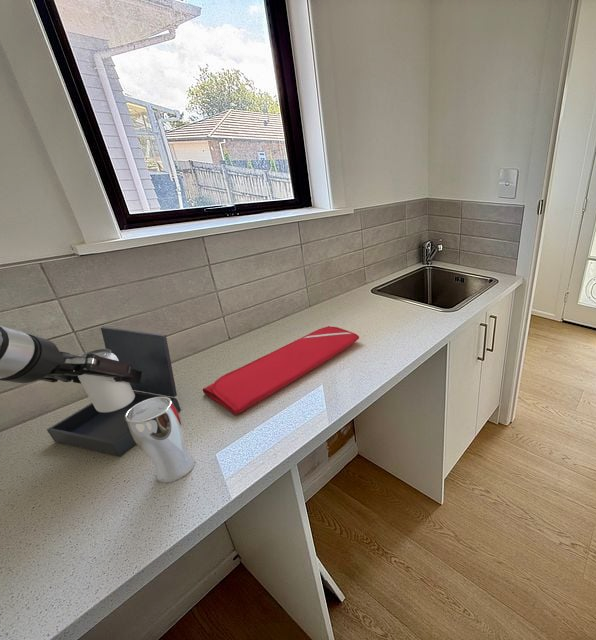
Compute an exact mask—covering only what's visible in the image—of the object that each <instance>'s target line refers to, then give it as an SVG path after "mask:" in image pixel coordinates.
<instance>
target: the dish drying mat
mask: <svg viewBox="0 0 596 640" xmlns="http://www.w3.org/2000/svg"><path fill="white" fill-rule="evenodd" d="M359 339H360V335H359V334H357V333H355V332H352V331H350V330H346V329H344V328H342V327H338V326H330V325H328V326H325V327H324V326H323V327H321V328H318V329H316V330H314V331H311V332H310V333H308V334H306V335H304V336H301V337H300V338H298V339H296V340H293V341H292V342H290V343H288V344H286V345H284V346H282V347H279V348H278V349H275V350H274V351H271V352H270V353H267V354H265V355H263V356H261V357H259V358H257V359H255V360H253V361H251V362H249V363H246V364H245V365H243V366H241V367H239V368H236V369H234V370H231V371H229V372H227V373H225V374H224V375H221V376H220V377H219V378H217V379H216V380H215V381H214V382H213V383H211V384H209V385H208V386H206V387H203V388H202V392H203V394H204V395H205V396H207V397H208V398H210V399H211V400H213V401H215V403H218V404H219V405H220V406H221V407H223V408H224V409H226V410H227V411H228V412H230V413H231V414H232V415H234V416H237V415H238V414H240V413H242V412H244V411H245V410H247V409H250V407H253V406H254V405H256V404H258V403H259V402H261V401H262V400H265V399H266V398H268V397H269V396H271V395H273V394H274V393H277V392H278V391H279V390H281V389H283V388H284V387H286V386H288V385H290V384H291V383H293V382H294V381H296V380H298V379H300V378H301V377H303V376H305V375H306V374H308V373H309V372H310V371H313V369H315V368H317V367H319V366H320V365H322V364H324V363H325V362H327V361H329V360H330V359H332V358H333V357H336V355H338V354H339V353H341V352H342V351H344V350H346V349H348V347H351V345H353V344H354V343H356V342H357V341H358V340H359Z"/></svg>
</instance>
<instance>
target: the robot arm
mask: <svg viewBox="0 0 596 640" xmlns="http://www.w3.org/2000/svg"><path fill="white" fill-rule="evenodd" d="M131 368H132V364H129V363H124V362H120V361H116V360H112V359H108V358H103V357H100V356H98V355H95V354H87V356H86V357H83V356H79V355H77V354H71V353H70V352H67V351H60V350H59V348H58V346H57V344H56V343H55V342H54V341H52V340H49V339H47V338H44V337H40V336H38V335H37V336H36V335H34V334H30V333H25V332H24V331H21V330H18V329H14V328H10V327H8V326H4V325H0V381H3V382H9V383H17V384H29V383H33V382H36V381H43V382H49V383H58V382H59V381H60V382H63V383H70V382H72V383H74V384H81V382H80V380H79V378H78V376H79V375H83V374H86V375H95V376H103V377H112V378H114V380H115V382H121V381H124V382H129V383H133V384H140V380H141V375H142V371H138V370H134V369H131ZM81 385H82V384H81Z"/></svg>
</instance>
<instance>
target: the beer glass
mask: <svg viewBox="0 0 596 640" xmlns="http://www.w3.org/2000/svg"><path fill="white" fill-rule="evenodd" d="M168 397H169V396H167V397H154V398H150V399H147V400H144V401H142V402H140V403H138V404H136V405H134V406H133V407H131V408H130V409H129V410H128V411H127V412H126V414H125V420H126V422H127V425H128V428H129V431H130V433H131V435H132V438H133V439H134V441H135V443H136V444H137V445H136V446H137V447H138V448H139V449H140V451H141V452H142V453H143V454H144V455H145V456H146V457H147V458H148V459H149V460H150V461H151V463H152V464H153V466H154V470H155V476H156V479H157V481H159V482H161V483H172V482H175V481H178V480H181V479H182V478H184V477H185V476H187V475H188V474H189V473H190V472H191V471H192V469H193V468H194V467H195V464H196V459H195V458H194V457H193V455H192V454H191V453H190V451H189V450H188V448H187V445H186V438H185V437H186V436H185V430H184V426H183V422H182V419H181V416H180V414H179V412H177V410H176V408H175V407H174V405H173V403H172V401H171V399H170V398H168Z"/></svg>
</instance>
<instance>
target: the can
mask: <svg viewBox="0 0 596 640" xmlns="http://www.w3.org/2000/svg"><path fill="white" fill-rule="evenodd" d="M87 354H95V355H98V356H100V357H103V358H108V359H112V360H116V361H119V360H118V358H117V356H116V355H114V354H113V353H111V350H109V349H106V348H97V349H93V350H89V351H85V352H84V353H81V354H80V355H78V356H83V357H86V356H87ZM78 378H79V380H80V382H81V385H82V387H83V389H84V391H85V393H86V395H87V396H88V398H89V400H90V402H91V403H92V404H93V405H94V407H95V409H96V410H97V411H98V412H102V413H109V412H114V411H117V410H120V409H122V408H124V407H126V406H128V405H129V404H130V403H131V402H132V401H133V400H134V398H135V394H134V392H133V391H134V390H132V387H131V385H130V383H129V382H124V381H121V382H115V380H114V378H112V377H103V376H95V375H86V374H83V375H79V376H78Z"/></svg>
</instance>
